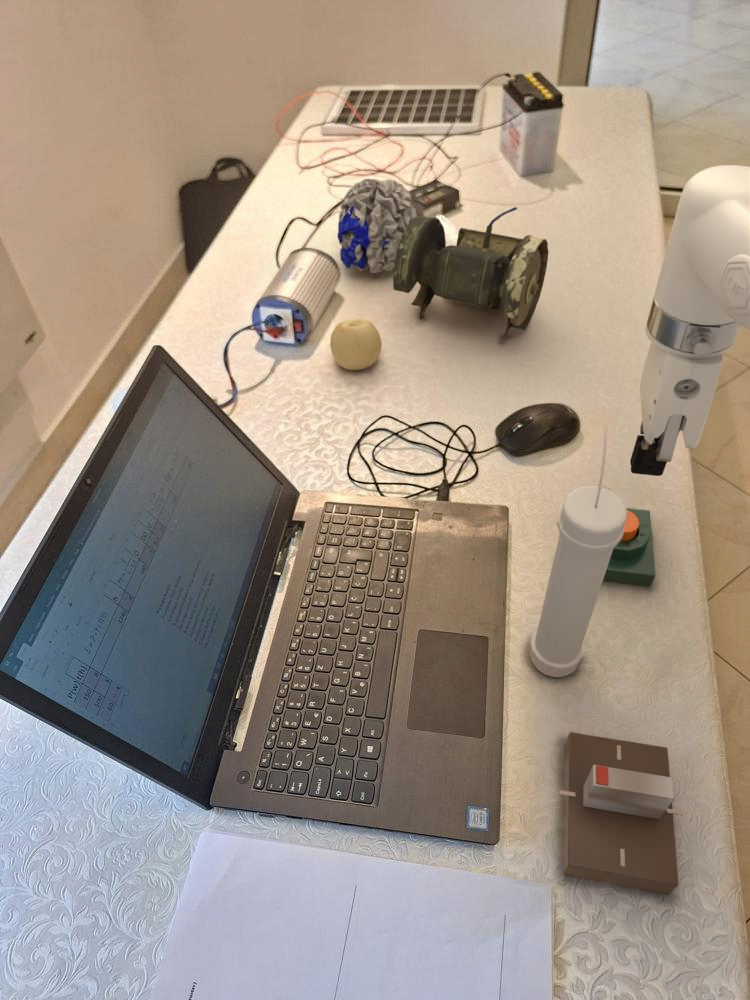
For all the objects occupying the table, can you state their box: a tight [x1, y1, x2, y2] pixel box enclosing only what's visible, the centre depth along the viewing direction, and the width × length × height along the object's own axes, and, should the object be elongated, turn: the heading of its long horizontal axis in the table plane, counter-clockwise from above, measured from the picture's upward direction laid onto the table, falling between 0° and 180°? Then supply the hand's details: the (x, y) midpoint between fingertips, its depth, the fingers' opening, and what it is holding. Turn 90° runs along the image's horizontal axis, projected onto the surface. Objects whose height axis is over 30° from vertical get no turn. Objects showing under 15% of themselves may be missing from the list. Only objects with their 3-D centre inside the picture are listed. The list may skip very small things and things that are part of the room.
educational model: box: [336, 178, 418, 274], centre depth 132 cm, size 14×20×15 cm
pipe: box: [529, 427, 627, 678], centre depth 67 cm, size 6×6×30 cm
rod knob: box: [583, 765, 675, 819], centre depth 63 cm, size 6×2×5 cm, turn 79°
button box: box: [603, 507, 656, 588], centre depth 86 cm, size 10×8×4 cm
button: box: [620, 510, 639, 542], centre depth 84 cm, size 4×4×2 cm
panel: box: [558, 731, 685, 896], centre depth 66 cm, size 12×11×3 cm
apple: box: [329, 318, 382, 371], centre depth 112 cm, size 8×8×8 cm
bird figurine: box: [435, 213, 459, 246], centre depth 134 cm, size 5×7×10 cm
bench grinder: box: [392, 206, 549, 339], centre depth 116 cm, size 20×22×20 cm
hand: (645, 469), depth 77 cm, fingers closed
